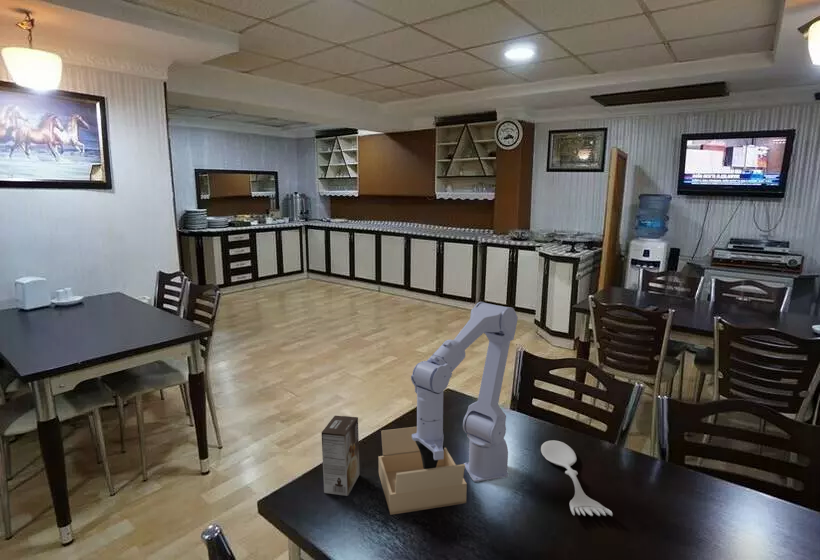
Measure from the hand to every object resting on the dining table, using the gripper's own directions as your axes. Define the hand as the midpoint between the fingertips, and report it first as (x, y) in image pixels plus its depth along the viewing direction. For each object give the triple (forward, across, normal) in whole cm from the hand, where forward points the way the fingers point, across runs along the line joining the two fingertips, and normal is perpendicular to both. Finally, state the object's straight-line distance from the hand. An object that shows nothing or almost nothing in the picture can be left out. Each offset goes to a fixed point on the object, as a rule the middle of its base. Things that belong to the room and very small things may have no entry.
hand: (429, 472), depth 105 cm
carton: (+9, -8, 0) cm, 13 cm away
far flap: (+1, -17, 0) cm, 17 cm away
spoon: (+10, -2, +37) cm, 39 cm away
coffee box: (+10, -14, -18) cm, 25 cm away
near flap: (+1, 0, 0) cm, 1 cm away
